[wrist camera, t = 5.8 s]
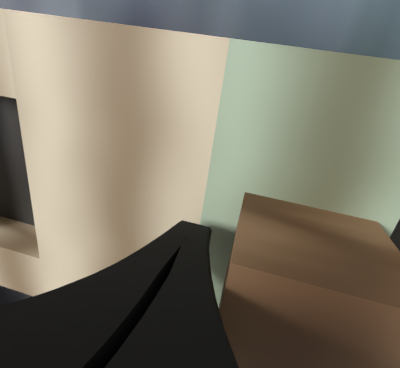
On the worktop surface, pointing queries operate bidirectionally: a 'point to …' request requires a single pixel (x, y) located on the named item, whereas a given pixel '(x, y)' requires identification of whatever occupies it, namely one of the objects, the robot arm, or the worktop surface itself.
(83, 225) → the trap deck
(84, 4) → the worktop surface
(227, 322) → the walnut block
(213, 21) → the worktop surface
